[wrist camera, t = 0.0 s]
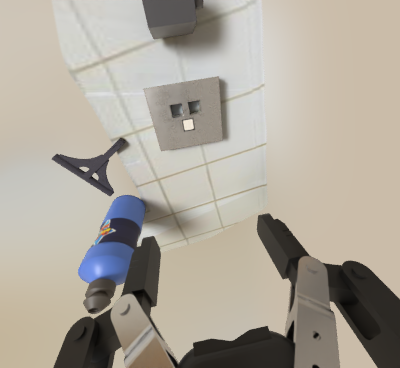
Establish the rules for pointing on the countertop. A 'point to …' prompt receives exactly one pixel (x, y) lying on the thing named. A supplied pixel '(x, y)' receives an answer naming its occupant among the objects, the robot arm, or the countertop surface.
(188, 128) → the earth shutter
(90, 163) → the bracket
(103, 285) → the blue detergent bottle
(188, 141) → the socket plate
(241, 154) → the countertop surface
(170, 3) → the plug
